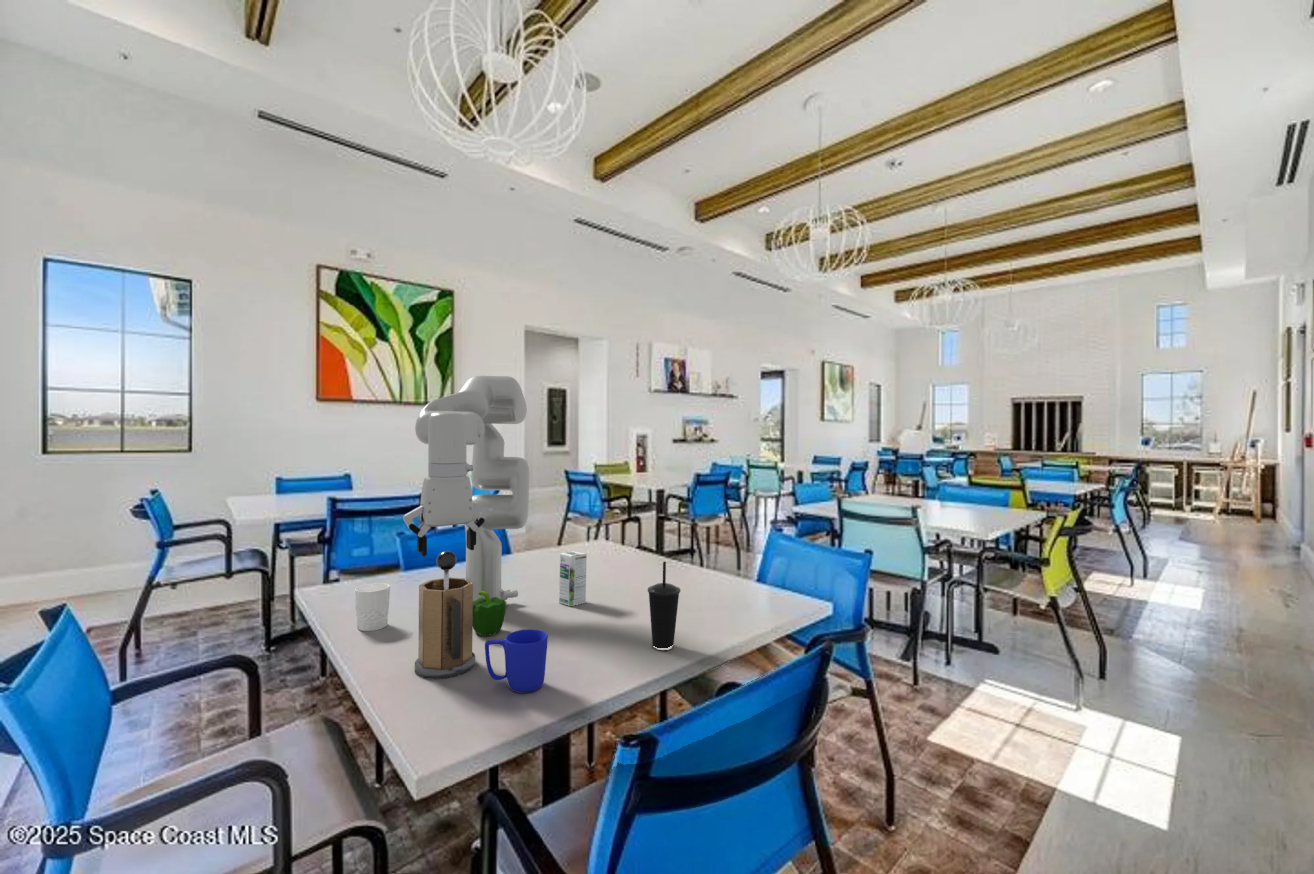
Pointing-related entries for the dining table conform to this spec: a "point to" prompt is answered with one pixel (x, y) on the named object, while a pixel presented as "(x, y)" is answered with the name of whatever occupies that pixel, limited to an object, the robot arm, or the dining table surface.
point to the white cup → (372, 606)
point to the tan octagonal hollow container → (445, 629)
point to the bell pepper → (488, 614)
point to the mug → (522, 659)
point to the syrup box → (572, 578)
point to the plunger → (446, 565)
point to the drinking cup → (663, 612)
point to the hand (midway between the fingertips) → (447, 551)
